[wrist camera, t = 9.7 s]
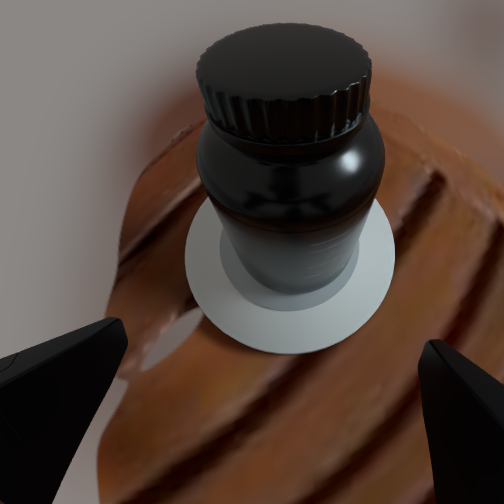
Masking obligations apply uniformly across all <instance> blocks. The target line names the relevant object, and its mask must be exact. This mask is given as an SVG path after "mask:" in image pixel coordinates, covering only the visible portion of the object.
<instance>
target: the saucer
mask: <svg viewBox="0 0 504 504" xmlns="http://www.w3.org/2000/svg"><path fill="white" fill-rule="evenodd" d="M394 262H395V247H394V240H393V235H392V231H391V228H390V225H389V222H388V219H387V217H386V215H385V213H384V211H383V209H382V208H381V206H380V205H379V203H378V202H377V200H376V199H374V202H373V204H372V207H371V210H370V212H369V215H368V217H367V220H366V222H365V225H364V228H363V230H362V232H361V235H360V237H359V240H358V242H357V245H356V247H355V249H354V252H353V254H352V256H351V258H350V260H349V262H348V264H347V266H346V267H345V269H344V270H343V272H342V273H341V274H340V275H339V276H338V277H337V278H336V279H335V280H334V281H333V282H331V283H330V284H328V285H327V286H325V287H323V288H321V289H319V290H316V291H313V292H310V293H305V294H285V293H280V292H276V291H273V290H271V289H268V288H267V287H265V286H263V285H261V284H260V283H258V282H257V281H256V280H255V279H254V278H253V277H252V276H251V275H250V274H249V273H248V272H247V271H246V269H245V268H244V266H243V265H242V263H241V261H240V259H239V258H238V256H237V254H236V252H235V250H234V248H233V245H232V243H231V241H230V239H229V237H228V235H227V233H226V231H225V229H224V227H223V225H222V223H221V221H220V219H219V217H218V215H217V213H216V211H215V209H214V207H213V205H212V203H211V201H210V199H209V197H207V199H206V200H205V201H204V203H203V204H202V205H201V207H200V208H199V210H198V212H197V213H196V215H195V217H194V219H193V222H192V224H191V226H190V229H189V233H188V236H187V241H186V248H185V267H186V275H187V279H188V282H189V286H190V289H191V291H192V293H193V295H194V298H195V300H196V302H197V303H198V305H199V306H200V308H201V309H202V311H203V312H204V313H205V315H206V316H207V317H208V318H209V319H210V320H211V321H212V323H214V324H215V325H216V326H217V327H218V328H219V329H221V330H222V331H223V332H224V333H226V334H227V335H229V336H231V337H232V338H234V339H235V340H237V341H239V342H240V343H242V344H244V345H246V346H249V347H251V348H253V349H256V350H260V351H263V352H267V353H273V354H280V355H299V354H306V353H312V352H316V351H319V350H322V349H326V348H328V347H330V346H332V345H335V344H337V343H339V342H341V341H342V340H344V339H345V338H347V337H348V336H350V335H351V334H353V333H354V332H355V331H356V330H357V329H359V328H360V327H361V326H362V325H363V324H364V323H365V322H367V321H368V319H369V318H370V317H371V316H372V315H373V314H374V312H375V311H376V310H377V308H378V307H379V305H380V304H381V302H382V300H383V299H384V297H385V295H386V293H387V290H388V288H389V286H390V282H391V279H392V275H393V270H394Z"/></svg>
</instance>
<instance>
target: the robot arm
mask: <svg viewBox="0 0 504 504" xmlns="http://www.w3.org/2000/svg"><path fill="white" fill-rule="evenodd" d="M127 346H128V338H127V335H126V332H125V328H124V325H123V322H122V320H121V319H119V318H114V317H108V318H105V319H103V320H100V321H98V322H95V323H92V324H90V325H87V326H85V327H82V328H80V329H77V330H75V331H72V332H69V333H67V334H64V335H62V336H59V337H56V338H54V339H51V340H49V341H46V342H44V343H41V344H38V345H36V346H33V347H30V348H28V349H25V350H23V351H20V352H19V353H18V352H17V353H15V354H12V355H10V356H7V357H4V358H2V359H0V504H52V503H53V500H54V498H55V496H56V493H57V491H58V489H59V487H60V484H61V482H62V480H63V478H64V476H65V474H66V471H67V469H68V467H69V465H70V463H71V461H72V459H73V457H74V455H75V453H76V451H77V449H78V447H79V445H80V443H81V441H82V439H83V437H84V434H85V433H86V431H87V429H88V427H89V425H90V423H91V421H92V419H93V417H94V415H95V414H96V412H97V410H98V408H99V406H100V404H101V402H102V400H103V398H104V397H105V395H106V393H107V391H108V389H109V388H110V386H111V383H112V381H113V379H114V377H115V375H116V372H117V370H118V367H119V365H120V363H121V360H122V358H123V356H124V354H125V351H126V349H127ZM418 375H419V383H420V391H421V401H422V410H423V417H424V423H425V428H426V433H427V439H428V445H429V451H430V458H431V465H432V472H433V481H434V490H435V502H436V504H504V385H503V384H502V383H500V382H499V381H498V380H496V379H495V378H494V377H492V376H491V375H490V374H488V373H487V372H485V371H484V370H483V369H481V368H480V367H479V366H477V365H476V364H474V363H473V362H472V361H470V360H469V359H467V358H466V357H465V356H463V355H462V354H460V353H459V352H458V351H456V350H455V349H453V348H452V347H451V346H449V345H448V344H446V343H445V342H443V341H442V340H440V339H433V340H428V341H427V342H426V343H425V346H424V349H423V351H422V354H421V357H420V360H419V363H418Z"/></svg>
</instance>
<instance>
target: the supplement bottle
mask: <svg viewBox="0 0 504 504" xmlns="http://www.w3.org/2000/svg"><path fill="white" fill-rule="evenodd" d="M200 58H201V59H200V60H199V61H198V62H197V69H196V78H197V81H198V84H199V88H200V91H201V94H202V96H203V99H204V108H205V112H206V115H207V118H208V119H207V121H206V123H205V125H204V127H203V129H202V131H201V134H200V137H199V140H198V145H197V152H196V161H197V168H198V172H199V176H200V179H201V181H202V184H203V186H204V188H205V190H206V193H207V195H208V197H209V199H210V201H211V203H212V205H213V207H214V209H215V211H216V213H217V215H218V217H219V219H220V221H221V223H222V225H223V227H224V229H225V231H226V233H227V235H228V237H229V239H230V241H231V243H232V245H233V248H234V250H235V252H236V254H237V256H238V258H239V259H240V261H241V263H242V265H243V266H244V268H245V269H246V271H247V272H248V273H249V274H250V275H251V276H252V277H253V278H254V279H255V280H256V281H257V282H258V283H260V284H261V285H263V286H265V287H267V288H268V289H271V290H273V291H276V292H280V293H285V294H305V293H310V292H313V291H316V290H319V289H321V288H323V287H325V286H327V285H328V284H330V283H331V282H333V281H334V280H335V279H336V278H337V277H338V276H339V275H340V274H341V273H342V272H343V270H344V269H345V267H346V266H347V264H348V262H349V260H350V258H351V256H352V254H353V252H354V249H355V247H356V245H357V242H358V240H359V237H360V235H361V232H362V230H363V228H364V225H365V222H366V220H367V217H368V215H369V212H370V210H371V207H372V204H373V202H374V199H375V196H376V194H377V191H378V188H379V185H380V182H381V179H382V175H383V171H384V166H385V148H384V142H383V139H382V136H381V133H380V130H379V128H378V126H377V124H376V122H375V121H374V119H373V118H372V116H371V115H370V113H369V108H370V94H369V90H370V83H371V76H372V70H371V68H372V63H371V59H370V58H369V57H368V52H367V51H365V50H364V49H363V47H362V45H361V44H359V43H357V42H356V41H355V40H354V39H353V38H350V37H348V36H346V35H345V34H344V33H340V32H337V31H334V30H333V29H329V28H324V27H321V26H316V25H309V24H299V23H274V24H265V25H260V26H255V27H250V28H247V29H244V30H240V31H237V32H235V33H233V34H230V35H228V36H225V37H224V38H223V39H221V40H218V41H216V42H215V43H214V44H213V45H212V46H210V47H209V48H207V49H206V52H205V53H203V54H202V55H201V56H200Z"/></svg>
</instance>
